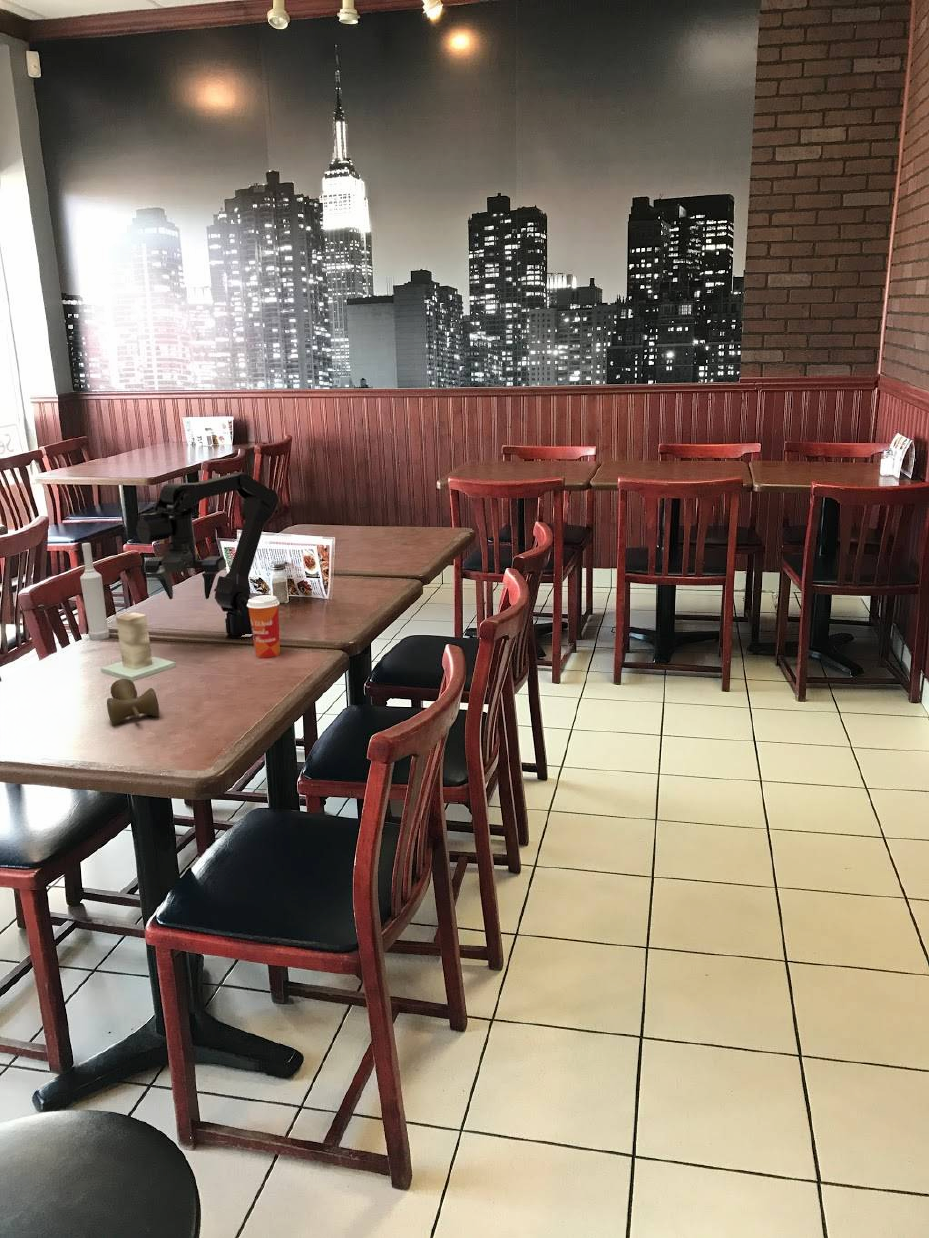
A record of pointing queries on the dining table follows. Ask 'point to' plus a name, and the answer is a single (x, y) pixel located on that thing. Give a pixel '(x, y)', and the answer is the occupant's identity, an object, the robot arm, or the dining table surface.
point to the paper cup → (265, 625)
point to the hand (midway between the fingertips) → (189, 598)
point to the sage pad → (139, 673)
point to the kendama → (130, 701)
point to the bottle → (93, 598)
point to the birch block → (134, 640)
